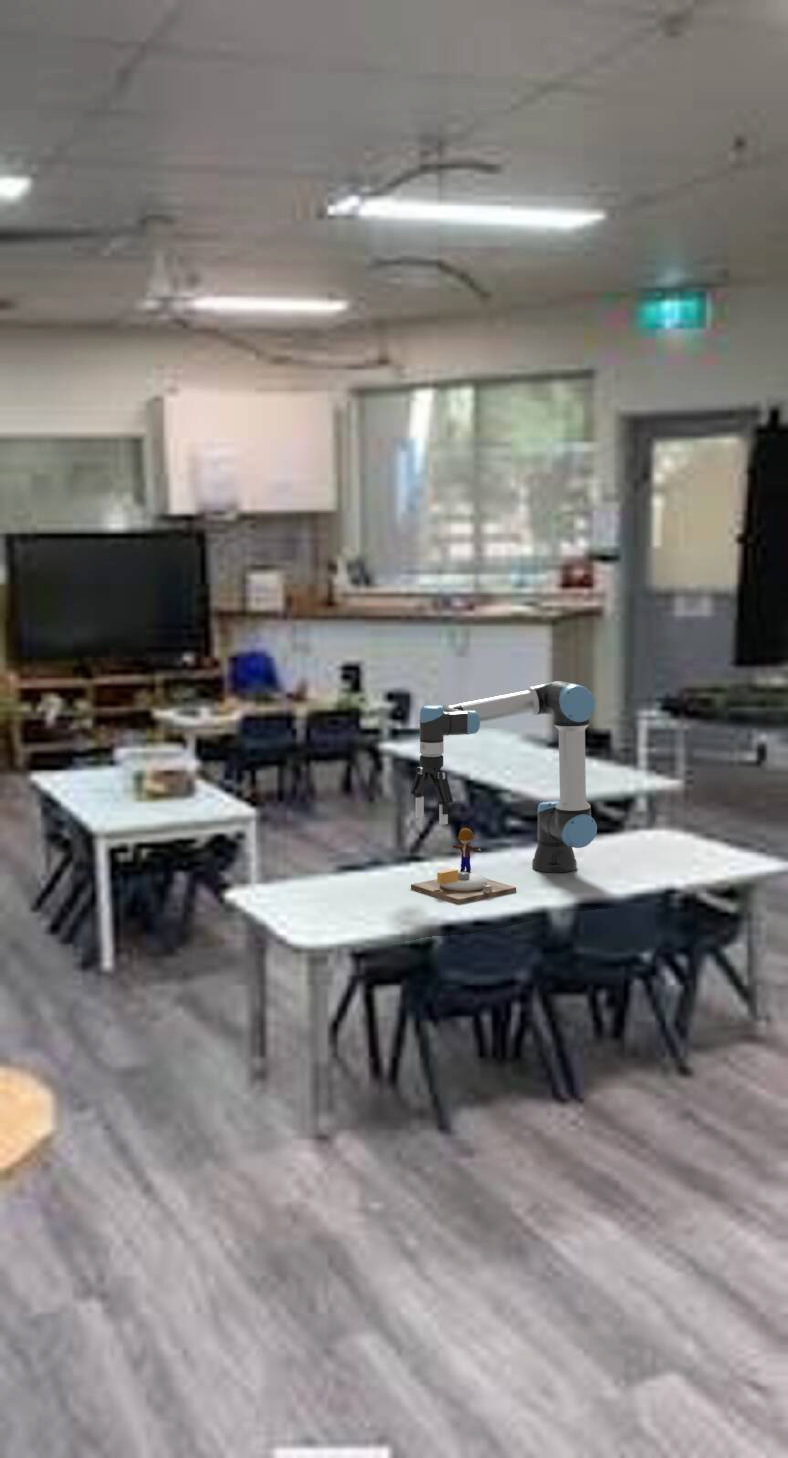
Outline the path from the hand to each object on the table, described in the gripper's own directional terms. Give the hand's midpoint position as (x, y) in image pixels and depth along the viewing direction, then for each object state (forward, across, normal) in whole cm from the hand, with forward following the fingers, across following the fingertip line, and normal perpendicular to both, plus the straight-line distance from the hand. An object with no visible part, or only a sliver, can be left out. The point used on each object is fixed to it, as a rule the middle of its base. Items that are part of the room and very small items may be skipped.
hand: (431, 820), depth 459 cm
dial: (+21, +6, +7) cm, 23 cm away
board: (+23, +6, +8) cm, 25 cm away
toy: (+23, -14, +24) cm, 36 cm away
